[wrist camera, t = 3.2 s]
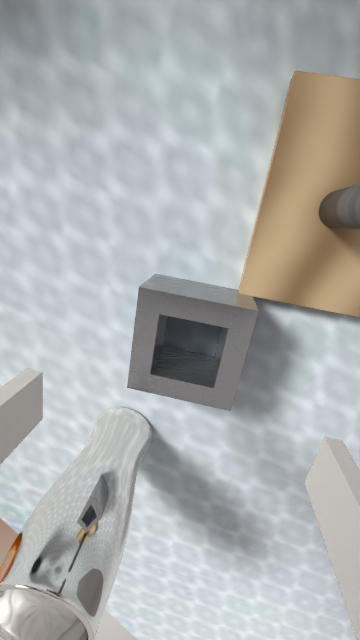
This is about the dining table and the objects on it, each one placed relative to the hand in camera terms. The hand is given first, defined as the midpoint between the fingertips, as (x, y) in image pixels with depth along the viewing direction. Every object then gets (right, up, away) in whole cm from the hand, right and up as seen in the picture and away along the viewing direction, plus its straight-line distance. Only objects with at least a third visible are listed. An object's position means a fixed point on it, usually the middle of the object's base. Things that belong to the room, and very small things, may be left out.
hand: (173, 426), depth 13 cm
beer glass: (-6, -7, +16) cm, 18 cm away
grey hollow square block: (+1, +4, +11) cm, 12 cm away
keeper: (+11, +13, +7) cm, 18 cm away
